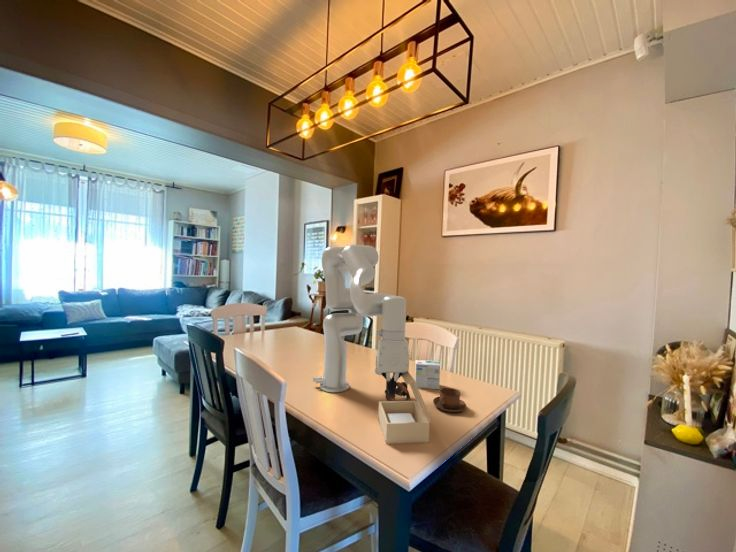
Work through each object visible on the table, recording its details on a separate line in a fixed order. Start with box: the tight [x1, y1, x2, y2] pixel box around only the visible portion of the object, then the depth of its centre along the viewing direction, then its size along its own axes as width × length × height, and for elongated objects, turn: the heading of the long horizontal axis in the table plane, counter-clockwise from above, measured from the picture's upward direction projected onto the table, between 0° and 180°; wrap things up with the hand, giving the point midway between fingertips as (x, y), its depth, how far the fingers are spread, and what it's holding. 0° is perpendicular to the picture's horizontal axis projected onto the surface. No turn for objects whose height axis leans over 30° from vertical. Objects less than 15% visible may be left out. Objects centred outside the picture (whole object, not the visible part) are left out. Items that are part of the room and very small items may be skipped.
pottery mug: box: [384, 381, 412, 401], centre depth 121 cm, size 12×10×8 cm
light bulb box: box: [414, 359, 441, 390], centre depth 137 cm, size 11×7×11 cm, turn 84°
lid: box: [401, 372, 432, 422], centre depth 99 cm, size 13×15×3 cm
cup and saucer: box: [433, 387, 467, 413], centre depth 116 cm, size 12×12×6 cm
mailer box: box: [377, 400, 430, 445], centre depth 99 cm, size 13×15×6 cm
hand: (391, 392), depth 98 cm, fingers closed
